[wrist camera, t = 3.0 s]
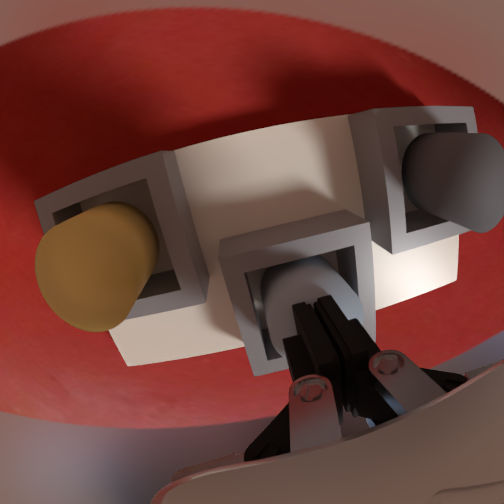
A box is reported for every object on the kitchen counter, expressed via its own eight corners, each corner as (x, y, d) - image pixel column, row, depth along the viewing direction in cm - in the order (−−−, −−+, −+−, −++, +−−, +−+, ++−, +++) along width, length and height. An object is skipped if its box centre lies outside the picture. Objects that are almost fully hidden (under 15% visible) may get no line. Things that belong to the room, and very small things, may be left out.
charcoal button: (454, 131, 12) (507, 132, 8) (461, 205, 13) (510, 222, 10) (395, 135, 12) (448, 135, 8) (405, 219, 13) (455, 242, 10)
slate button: (330, 242, 15) (361, 270, 11) (338, 309, 17) (364, 349, 13) (252, 261, 15) (260, 297, 11) (268, 327, 17) (279, 373, 13)
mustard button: (143, 189, 12) (109, 205, 8) (171, 277, 13) (152, 322, 10) (68, 216, 12) (20, 240, 8) (97, 294, 13) (63, 337, 10)
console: (429, 110, 16) (478, 106, 11) (441, 270, 20) (481, 297, 15) (71, 189, 16) (26, 203, 11) (134, 349, 20) (116, 396, 15)
